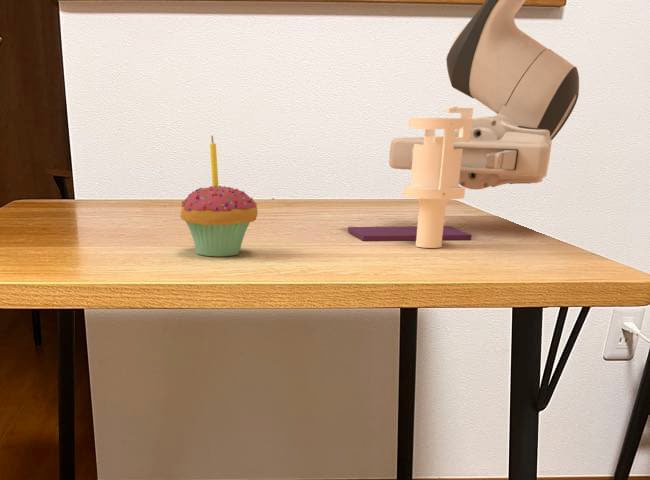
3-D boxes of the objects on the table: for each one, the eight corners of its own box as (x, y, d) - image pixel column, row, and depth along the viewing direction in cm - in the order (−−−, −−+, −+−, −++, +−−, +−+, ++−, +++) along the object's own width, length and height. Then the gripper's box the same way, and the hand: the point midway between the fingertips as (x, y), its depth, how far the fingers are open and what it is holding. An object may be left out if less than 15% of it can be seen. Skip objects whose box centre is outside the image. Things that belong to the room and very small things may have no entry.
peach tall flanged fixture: (467, 249, 102) (484, 106, 96) (409, 250, 101) (422, 106, 95) (446, 242, 109) (460, 107, 102) (391, 242, 108) (402, 106, 101)
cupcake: (170, 249, 101) (167, 134, 95) (237, 245, 104) (238, 134, 98) (198, 261, 94) (197, 138, 88) (270, 257, 97) (273, 138, 91)
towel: (449, 230, 117) (450, 226, 117) (471, 239, 110) (471, 234, 110) (347, 231, 116) (348, 226, 115) (363, 240, 109) (363, 235, 108)
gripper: (409, 125, 121) (374, 128, 110) (562, 130, 112) (542, 133, 101) (404, 174, 123) (370, 182, 112) (554, 183, 115) (533, 192, 104)
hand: (453, 159), depth 107 cm, fingers open, 8 cm apart
